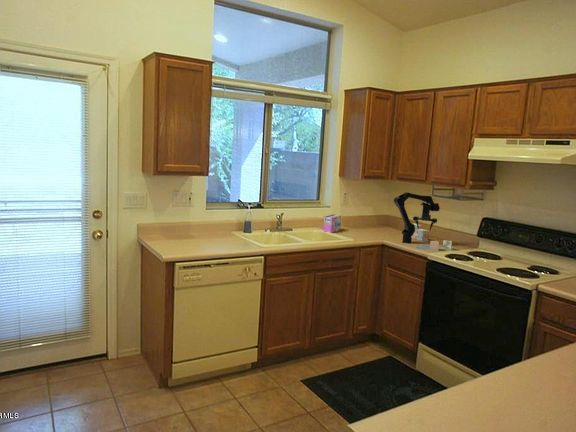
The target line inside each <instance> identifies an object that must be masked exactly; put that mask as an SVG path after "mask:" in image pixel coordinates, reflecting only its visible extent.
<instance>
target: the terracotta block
mask: <svg viewBox="0 0 576 432" xmlns="http://www.w3.org/2000/svg"><path fill="white" fill-rule="evenodd" d="M429 246H430V250H429V251H433V250H436V251H435V252H439V248H440V247H439V246H440V241H436V240H430V243H429ZM438 247H439V248H438Z"/></svg>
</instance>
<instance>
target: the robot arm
mask: <svg viewBox="0 0 576 432" xmlns="http://www.w3.org/2000/svg"><path fill="white" fill-rule="evenodd" d="M410 198H411V199H414V200H419V201H421V203H420V205H421V206H422V210H421V211H422V212H421V217H419V216H417V215H414V216H413V217H412V220H413V221H414V222H415V223H414V224H417V227H418V229H419V225H420V221H426V222H430V227H429V231H431V229H432V228H433V226H434V225H435V224H436V223H438V218H434V217H433V218H432V215H431V214H430V213H431V212H440V210H441V209H440V207H441V206H440V205H439V203H437V202H434V200H433V197H432V196H431V195H428V194H427V195H426V194H421V195H420V194H415V193H411V192H408V191H405V192H404V193H402V194H400V195H398V196H396V197H394V199H393V204H395V206H396V207H397V209H398V211H399V213H400V215H401V217H402V220H403V223H404V229H403V230H402V231H401V234H402V242H401V243H403V244H411V243H412V240H413V238H412V237H411V236H413V234H414V232H415V229H416V228H415V227H414V224H412V223H411V221H410V218H409V215H408V213H407V210H406V208H405V205H406V204H405V202H406V201H407V200H408V199H410Z"/></svg>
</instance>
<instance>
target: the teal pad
mask: <svg viewBox="0 0 576 432" xmlns="http://www.w3.org/2000/svg"><path fill="white" fill-rule="evenodd" d="M440 250H445V251H454V248H452V247H451V250H448V249H443V246H441V247H440Z"/></svg>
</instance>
